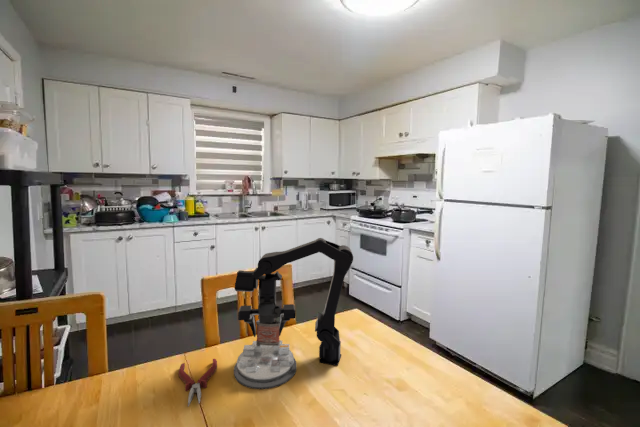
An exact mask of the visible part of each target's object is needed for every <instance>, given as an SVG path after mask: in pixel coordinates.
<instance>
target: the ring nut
mask: <svg viewBox="0 0 640 427" xmlns="http://www.w3.org/2000/svg"><path fill="white" fill-rule="evenodd" d="M279 340H280V344H279V345H277V346H266V345H259V344H257V343H256V340H253V341H252V344H244V346H243V348H242V352H241V353H240V354H239V355H238V357H237V360H236V363H237V371H238V373H239V375H240V376H241V377H243V378H244V379H247V380H249V381H253V382H269V381H274V380H277V379H280V378H282V377H284V376H285V375H287V374H288V373H289V372H290V371H291V370H292V368H293V365H294V358H295V356H294V354H293V352H292V350H290V343H283V340H281V339H279Z"/></svg>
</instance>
